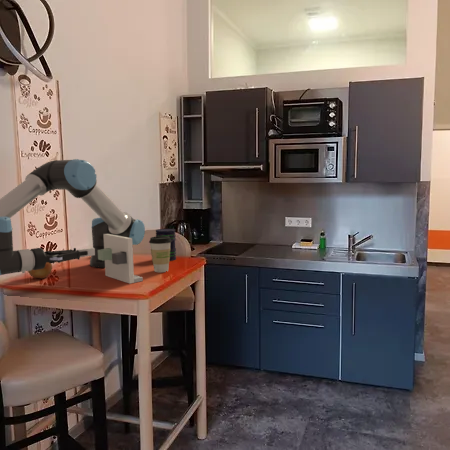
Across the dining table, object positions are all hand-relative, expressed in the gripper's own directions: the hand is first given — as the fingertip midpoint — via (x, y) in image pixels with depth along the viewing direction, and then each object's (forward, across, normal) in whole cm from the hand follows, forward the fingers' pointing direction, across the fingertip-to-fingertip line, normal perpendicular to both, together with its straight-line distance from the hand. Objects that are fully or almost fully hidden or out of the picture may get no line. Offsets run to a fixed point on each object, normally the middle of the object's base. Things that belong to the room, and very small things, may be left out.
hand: (93, 251), depth 179 cm
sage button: (+12, -12, -6) cm, 18 cm away
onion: (-9, -32, -14) cm, 36 cm away
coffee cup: (+35, -6, -14) cm, 38 cm away
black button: (+12, 0, -6) cm, 13 cm away
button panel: (+16, -6, -14) cm, 22 cm away
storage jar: (+52, -27, -14) cm, 60 cm away
